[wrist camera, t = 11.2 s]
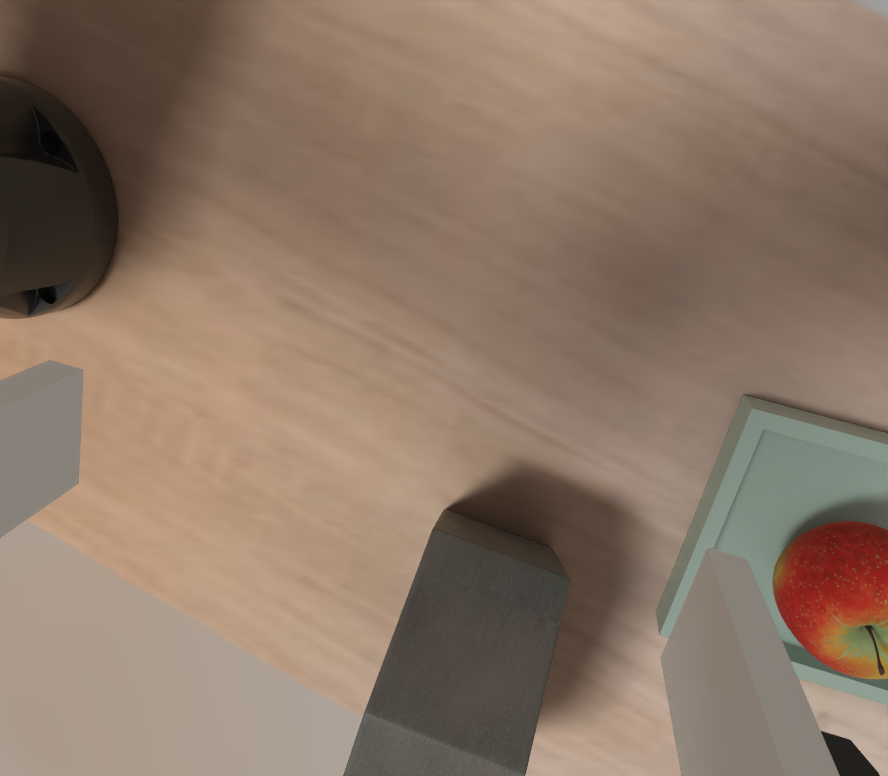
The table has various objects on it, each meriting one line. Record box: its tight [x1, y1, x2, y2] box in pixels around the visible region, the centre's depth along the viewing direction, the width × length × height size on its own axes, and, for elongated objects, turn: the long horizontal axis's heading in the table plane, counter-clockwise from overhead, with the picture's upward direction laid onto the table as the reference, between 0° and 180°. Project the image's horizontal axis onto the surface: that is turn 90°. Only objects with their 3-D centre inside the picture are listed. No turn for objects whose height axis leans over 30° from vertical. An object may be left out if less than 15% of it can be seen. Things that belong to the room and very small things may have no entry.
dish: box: [656, 395, 888, 705], centre depth 42 cm, size 16×16×2 cm
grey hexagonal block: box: [343, 509, 570, 776], centre depth 41 cm, size 17×8×21 cm
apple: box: [772, 521, 888, 679], centre depth 38 cm, size 8×8×10 cm
